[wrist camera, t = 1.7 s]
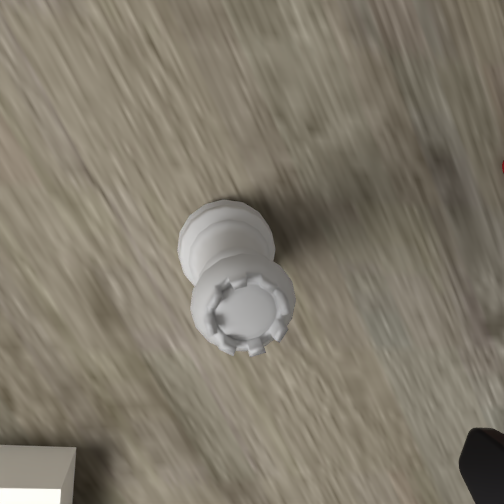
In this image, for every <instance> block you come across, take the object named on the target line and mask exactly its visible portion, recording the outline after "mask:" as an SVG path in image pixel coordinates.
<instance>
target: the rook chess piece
mask: <svg viewBox="0 0 504 504" xmlns="http://www.w3.org/2000/svg"><path fill="white" fill-rule="evenodd" d="M178 254H179V259H180V263H181V266H182V269H183V273H184V274H185V276H186V277H187V278H188V279H189V280H190V281H191V283H192V284H193V285H194V286H195V287H194V289H193V293H192V300H191V308H190V310H191V313H192V316H193V320H194V323H195V326H196V328H197V329H198V330H199V331H200V333H201V334H202V335H203V336H204V337H205V338H206V339H207V340H208V342H210V343H212V344H214V345H217V346H218V347H219V349H220V350H222V351H224V352H226V353H228V354H230V355H232V356H234V353H235V351H248V352H249V356H250V357H252V356H255V355H259V354H262V353H266V351H265V348H264V346H266V345H267V344H269V343H270V342H271V341H273V340H274V339H275V340H276V341H278V342H279V343H280V341H281V340H282V338H283V337H284V335H285V334H286V332H287V331H288V328H287V325H288V324H289V322H290V321H291V319H292V316H293V311H294V307H295V302H296V298H295V293H294V288H293V284H292V281H291V279H290V278H289V277H288V275H287V274H286V272H285V271H284V270H283V268H282V267H281V266H280V265H278V264H276V263H275V262H273V260H274V255H275V244H274V240H273V235H272V231H271V230H270V227H269V225H268V224H267V223H266V221H265V220H264V218H263V217H262V216H261V214H260V213H259V212H258V211H257V210H255V209H253V208H252V207H250V206H248V205H247V204H245V203H243V202H238V201H231V200H220V201H216V202H212V203H208V204H205V205H203V206H202V207H201V208H199V209H198V210H196V211H195V212H194V213H192V214H191V215H190V216H189V217H188V219H187V221H186V222H185V224H184V226H183V227H182V229H181V231H180V234H179V242H178Z"/></svg>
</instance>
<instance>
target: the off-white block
mask: <svg viewBox="0 0 504 504" xmlns="http://www.w3.org/2000/svg"><path fill="white" fill-rule="evenodd" d="M75 460H76V447H52V446H20V445H0V504H72V502H73V488H74V474H75Z"/></svg>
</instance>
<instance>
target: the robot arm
mask: <svg viewBox="0 0 504 504" xmlns="http://www.w3.org/2000/svg"><path fill="white" fill-rule="evenodd" d="M459 469H460V473H461V475H462V477H463V479H464V481H465V483H466V485H467V487H468V489H469V491H470V493H471V495H472V498H473V500H474V502H475V504H504V434H503V433H501V432H499V431H497V430H495V429H492V428H473V429H471V430H470V431H469V433H468V435H467V438H466V441H465V444H464V447H463V449H462V452H461V455H460V458H459Z"/></svg>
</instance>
